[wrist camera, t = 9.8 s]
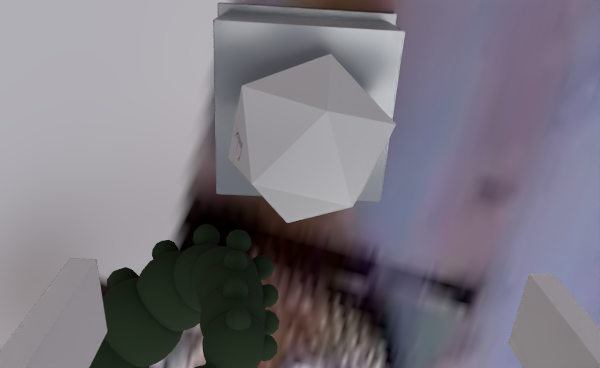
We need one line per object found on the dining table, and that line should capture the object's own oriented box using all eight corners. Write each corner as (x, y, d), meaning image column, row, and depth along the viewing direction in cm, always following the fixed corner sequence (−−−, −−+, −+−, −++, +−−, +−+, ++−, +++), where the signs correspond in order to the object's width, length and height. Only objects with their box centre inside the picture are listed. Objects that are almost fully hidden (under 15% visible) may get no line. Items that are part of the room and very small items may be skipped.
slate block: (221, 165, 37) (208, 200, 32) (219, 2, 32) (204, 10, 27) (373, 173, 38) (386, 208, 32) (394, 13, 33) (415, 22, 27)
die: (313, 14, 27) (194, 68, 21) (442, 90, 25) (351, 175, 19) (283, 122, 33) (182, 190, 27) (385, 192, 31) (301, 284, 24)
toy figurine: (223, 168, 39) (4, 330, 43) (197, 313, 21) (-176, 568, 25) (292, 248, 42) (83, 391, 46) (319, 432, 25) (-27, 641, 28)
